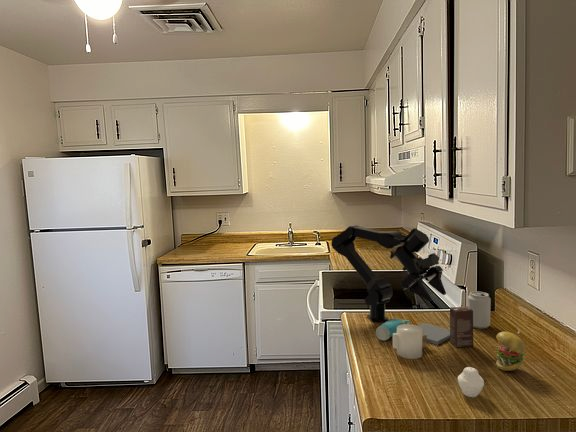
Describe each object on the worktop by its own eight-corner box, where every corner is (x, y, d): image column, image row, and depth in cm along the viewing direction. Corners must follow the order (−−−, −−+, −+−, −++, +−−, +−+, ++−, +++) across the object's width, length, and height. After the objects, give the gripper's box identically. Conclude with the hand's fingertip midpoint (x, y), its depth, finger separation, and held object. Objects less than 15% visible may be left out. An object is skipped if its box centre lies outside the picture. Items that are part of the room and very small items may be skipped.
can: (493, 329, 145) (494, 296, 144) (472, 329, 146) (473, 296, 144) (484, 321, 153) (485, 290, 152) (463, 322, 153) (464, 290, 152)
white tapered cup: (415, 347, 132) (415, 323, 131) (426, 357, 125) (426, 332, 124) (388, 349, 131) (388, 325, 130) (398, 360, 123) (398, 334, 123)
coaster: (405, 334, 142) (405, 331, 142) (424, 325, 150) (424, 322, 150) (437, 345, 133) (437, 341, 133) (455, 335, 141) (455, 331, 141)
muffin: (467, 402, 100) (468, 374, 100) (452, 389, 106) (452, 363, 105) (489, 398, 102) (490, 371, 101) (472, 386, 108) (473, 360, 107)
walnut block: (408, 344, 135) (408, 332, 134) (418, 342, 136) (418, 330, 136) (416, 349, 131) (416, 337, 130) (426, 347, 132) (426, 335, 132)
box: (466, 341, 136) (466, 305, 135) (473, 346, 131) (474, 310, 130) (448, 342, 135) (449, 306, 134) (455, 348, 131) (456, 311, 130)
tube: (372, 324, 139) (390, 312, 155) (371, 338, 139) (389, 324, 156) (393, 328, 135) (410, 315, 151) (393, 342, 135) (409, 328, 152)
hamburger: (493, 361, 121) (494, 322, 120) (521, 365, 118) (522, 324, 117) (497, 373, 114) (498, 331, 113) (526, 377, 111) (528, 334, 110)
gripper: (408, 250, 135) (439, 289, 127) (438, 243, 147) (468, 278, 139) (388, 270, 141) (416, 308, 134) (418, 261, 153) (446, 296, 146)
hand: (438, 297), depth 138 cm, fingers open, 9 cm apart
